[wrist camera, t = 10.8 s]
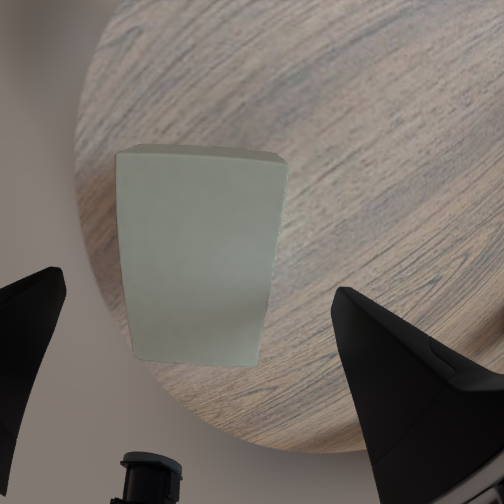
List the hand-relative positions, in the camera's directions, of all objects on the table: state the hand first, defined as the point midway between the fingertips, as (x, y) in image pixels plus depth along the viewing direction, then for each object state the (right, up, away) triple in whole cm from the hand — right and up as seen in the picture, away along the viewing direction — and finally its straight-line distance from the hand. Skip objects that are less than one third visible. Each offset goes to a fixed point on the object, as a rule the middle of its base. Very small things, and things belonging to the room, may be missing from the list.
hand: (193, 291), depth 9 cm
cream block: (0, +1, +3) cm, 3 cm away
